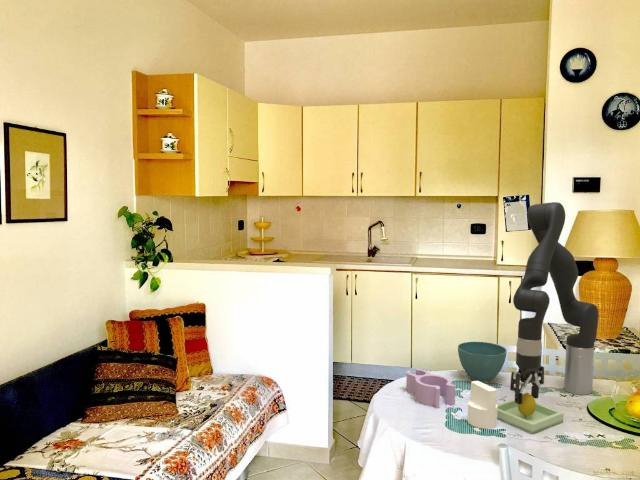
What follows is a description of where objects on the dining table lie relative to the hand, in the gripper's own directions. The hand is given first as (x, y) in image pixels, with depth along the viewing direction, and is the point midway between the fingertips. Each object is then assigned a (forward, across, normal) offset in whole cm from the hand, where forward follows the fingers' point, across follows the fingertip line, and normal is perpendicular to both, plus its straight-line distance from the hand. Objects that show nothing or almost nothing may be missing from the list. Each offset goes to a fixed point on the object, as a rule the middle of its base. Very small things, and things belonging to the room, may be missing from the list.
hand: (526, 400), depth 174 cm
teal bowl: (+6, -18, -33) cm, 38 cm away
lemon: (+5, 0, 0) cm, 5 cm away
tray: (+6, 0, 0) cm, 6 cm away
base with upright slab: (+6, +14, -6) cm, 17 cm away
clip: (+6, +13, -31) cm, 34 cm away
